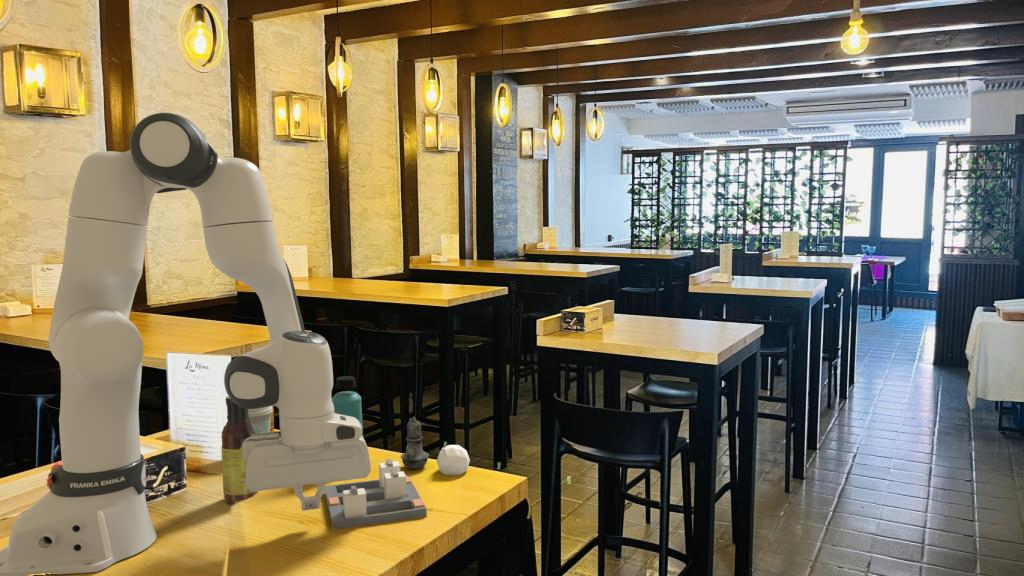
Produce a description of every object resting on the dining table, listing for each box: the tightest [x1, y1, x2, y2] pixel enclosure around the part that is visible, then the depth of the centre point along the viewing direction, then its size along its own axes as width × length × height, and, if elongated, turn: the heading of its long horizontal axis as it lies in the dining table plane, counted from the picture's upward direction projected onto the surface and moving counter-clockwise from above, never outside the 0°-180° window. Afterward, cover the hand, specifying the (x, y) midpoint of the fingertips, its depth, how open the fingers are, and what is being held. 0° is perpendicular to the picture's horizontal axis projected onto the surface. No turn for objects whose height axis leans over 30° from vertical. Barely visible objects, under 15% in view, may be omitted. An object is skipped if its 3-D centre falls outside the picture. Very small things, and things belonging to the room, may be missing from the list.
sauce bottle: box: [220, 395, 259, 505], centre depth 136 cm, size 6×6×20 cm
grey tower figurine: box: [400, 415, 430, 470], centre depth 150 cm, size 6×6×12 cm
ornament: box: [436, 444, 471, 476], centre depth 148 cm, size 6×7×7 cm
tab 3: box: [384, 469, 407, 500], centre depth 132 cm, size 4×3×6 cm
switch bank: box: [324, 475, 428, 531], centre depth 131 cm, size 16×17×3 cm
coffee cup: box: [248, 406, 274, 434], centre depth 161 cm, size 8×8×12 cm
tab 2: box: [378, 458, 401, 488], centre depth 138 cm, size 4×3×6 cm
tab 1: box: [342, 486, 368, 519], centre depth 124 cm, size 4×3×6 cm
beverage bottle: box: [331, 375, 365, 438], centre depth 151 cm, size 6×7×20 cm
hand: (310, 508), depth 121 cm, fingers closed
